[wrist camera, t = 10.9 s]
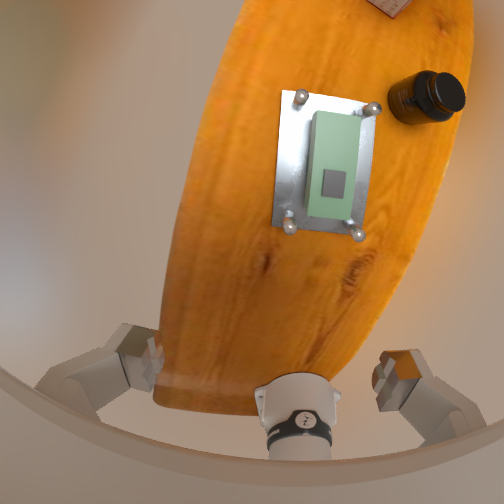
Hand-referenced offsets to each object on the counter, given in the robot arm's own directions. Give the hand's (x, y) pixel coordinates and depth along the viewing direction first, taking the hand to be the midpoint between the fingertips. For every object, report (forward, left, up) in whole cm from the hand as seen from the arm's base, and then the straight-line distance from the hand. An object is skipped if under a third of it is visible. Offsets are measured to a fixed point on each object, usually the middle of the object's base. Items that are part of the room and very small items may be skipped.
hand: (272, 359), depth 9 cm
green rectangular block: (+6, -6, -27) cm, 29 cm away
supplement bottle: (+17, -18, -31) cm, 40 cm away
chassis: (+5, -6, -31) cm, 32 cm away
